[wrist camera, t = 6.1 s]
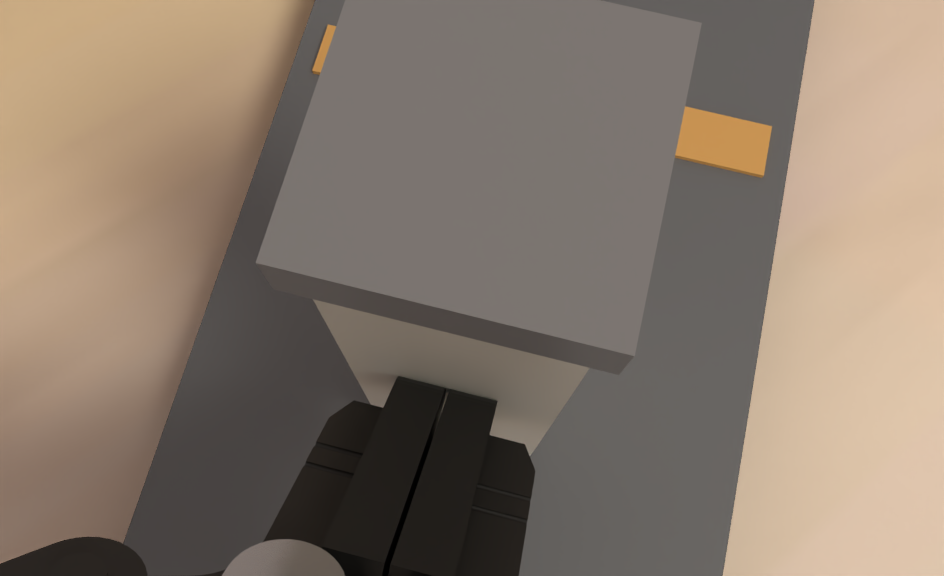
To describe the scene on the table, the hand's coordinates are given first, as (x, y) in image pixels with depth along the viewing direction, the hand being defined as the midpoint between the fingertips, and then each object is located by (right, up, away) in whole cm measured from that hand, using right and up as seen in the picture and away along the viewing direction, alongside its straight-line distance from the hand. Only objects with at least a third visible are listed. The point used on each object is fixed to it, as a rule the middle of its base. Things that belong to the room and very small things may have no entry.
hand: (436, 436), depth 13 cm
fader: (+1, +1, +5) cm, 5 cm away
